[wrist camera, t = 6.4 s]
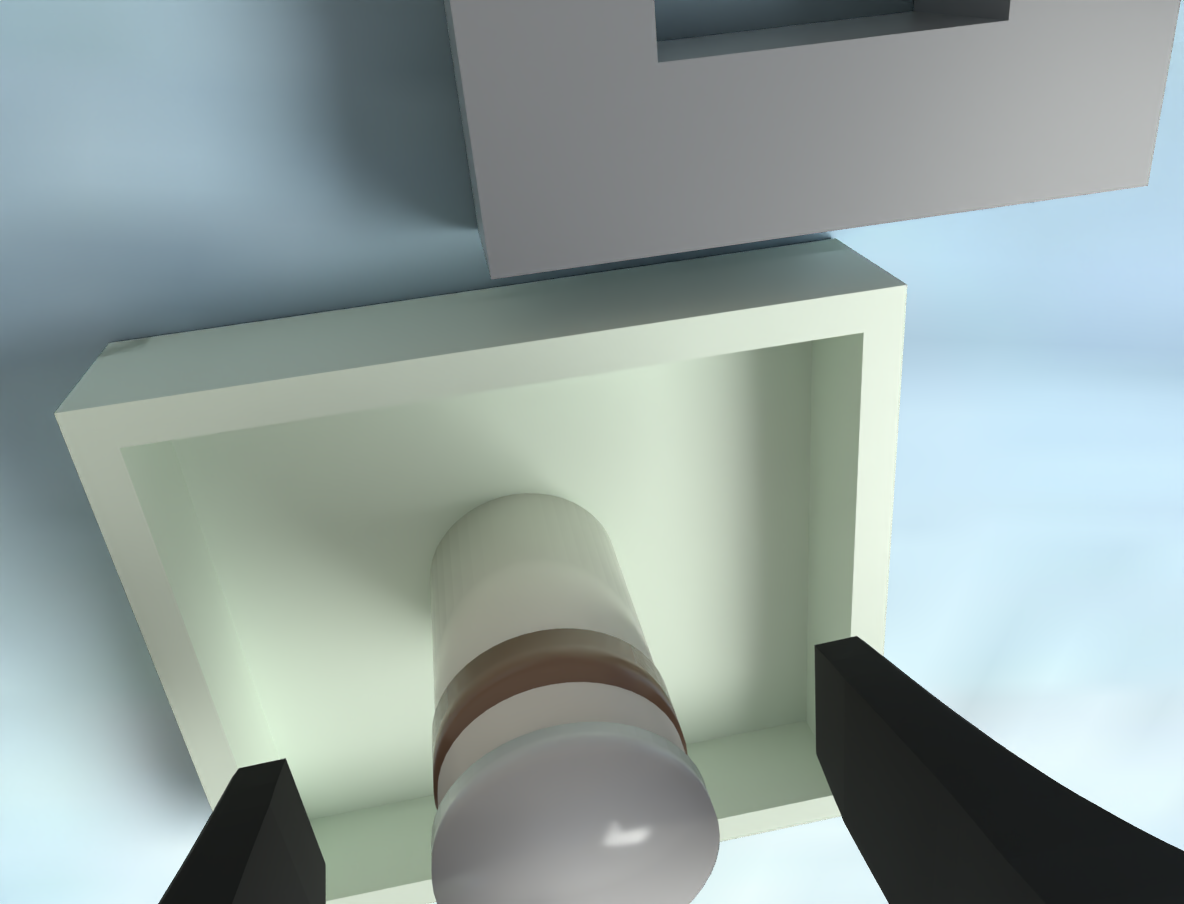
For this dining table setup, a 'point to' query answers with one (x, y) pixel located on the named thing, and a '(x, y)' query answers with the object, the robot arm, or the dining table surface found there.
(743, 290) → the parts tray
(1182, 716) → the dining table surface
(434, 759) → the cylinder
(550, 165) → the fuse holder
